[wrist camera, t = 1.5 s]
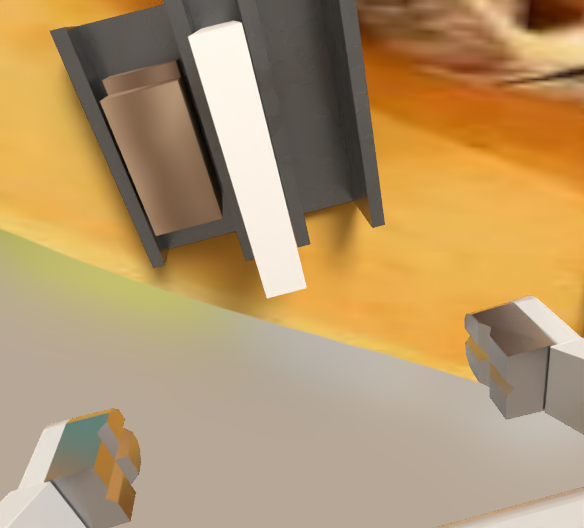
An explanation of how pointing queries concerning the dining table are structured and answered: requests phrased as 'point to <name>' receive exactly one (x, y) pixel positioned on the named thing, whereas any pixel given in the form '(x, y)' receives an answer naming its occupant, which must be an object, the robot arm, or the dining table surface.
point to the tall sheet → (248, 152)
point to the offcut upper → (164, 155)
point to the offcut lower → (150, 77)
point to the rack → (273, 93)
